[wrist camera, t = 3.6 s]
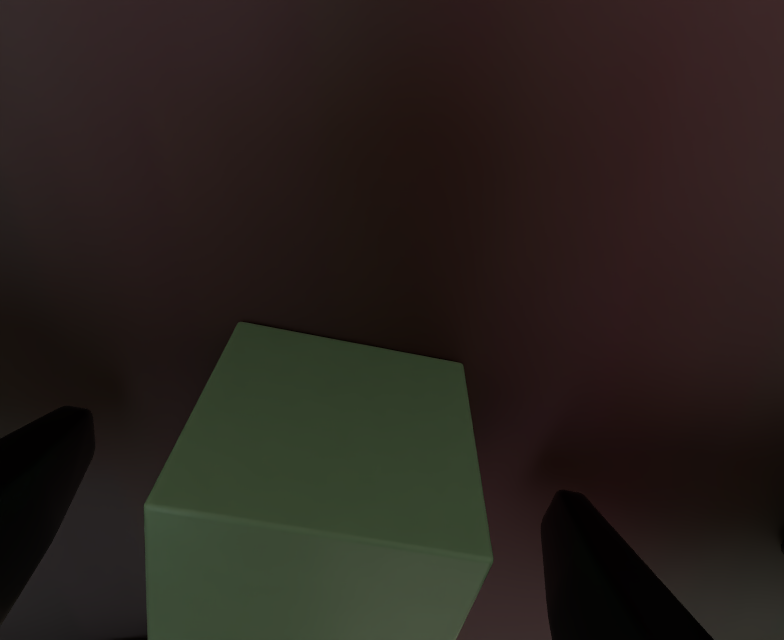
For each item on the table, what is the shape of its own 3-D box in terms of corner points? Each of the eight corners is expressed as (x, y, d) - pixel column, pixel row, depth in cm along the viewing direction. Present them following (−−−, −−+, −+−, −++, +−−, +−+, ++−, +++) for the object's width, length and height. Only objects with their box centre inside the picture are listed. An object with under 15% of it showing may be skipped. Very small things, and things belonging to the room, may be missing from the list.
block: (464, 361, 10) (495, 561, 6) (413, 512, 12) (416, 726, 8) (238, 319, 9) (140, 506, 6) (225, 482, 11) (146, 691, 8)
